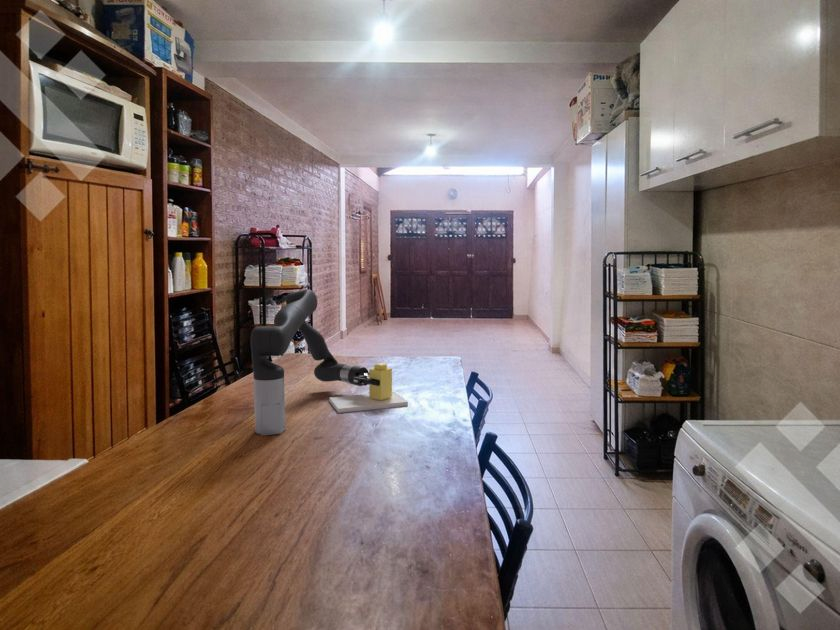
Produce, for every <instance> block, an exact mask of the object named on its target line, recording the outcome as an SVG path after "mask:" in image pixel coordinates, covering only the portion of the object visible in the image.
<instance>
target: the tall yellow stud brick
mask: <svg viewBox="0 0 840 630" xmlns="http://www.w3.org/2000/svg"><path fill="white" fill-rule="evenodd" d="M368 372H369V378H372V379H377V380H380V386H376V385H368V387H369V389H368V391H369V392H368V394H369V398H373V399H377V400H384V399H387V398H391V397H392V392H393V368H390V367H388V364H387V363H381V362H380V363H374V364H373V367H372V368H371V367H370V368H369V370H368Z"/></svg>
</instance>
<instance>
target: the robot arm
mask: <svg viewBox="0 0 840 630" xmlns="http://www.w3.org/2000/svg"><path fill="white" fill-rule="evenodd" d="M285 304H286V305H284V306H282V307H281V308H280V309H279V311H277V313H276V314H275V316H274V318H273V325H274V326H273V325H271V326H270V325H269V326H268V325H267V326H265V325H263V326H260V325H259V326H255V327H253V328H252V330H251V334H250V349H251V350H250V353H251V364H252V366H251V367H252V373H253V374H252V375H253V397H254V398H253V401H254V431H255V432H254V433H256V434H257V435H260V436H262V437H263V436H270V435H271V436H272V435H281V434H283V432H285V431H286V429H287V428H286V401H285V400H286V397H285V369H284V367H283V366H282V365H279V364H276V363H274V362H272V361H270V360H269V359H268V358H267V357H280V356H284V354H286V352H287V351H288V349H289V347H290V345H291V342H292V340H293V338H294V336H295V335H296V333H297V332H298V331H299V332H300V333H301V335H302V336H303V338H304V340H305V342H306V344H307V347H308V349H309V353H310V355H311V357H312V359H313V360H314V361H321V362H320V363H319V364H317V365H316V366H315V368H314V370H313V375H314V376H315V378H316V379H317V380H318V381H320V382H324V383H325V382H326V383H327V382H328V383H329V382H336V381H338V382H343V383H346V384H347V385H354V386H358V387H363V386H365V387H366V386H369V385H376V386H380V380H377V379H372V378H369V370H368V369H367V368H366V367H364V366H360V365H354V364H347V363H341V362H340V363H339V362H338V360H337V359H336V357H334V356H333V354H332V352H331V351H330V350H329V349H328V345H327V343H326V340H325V338H324V336H323V335H322V333H320V332H319V331H318V330H317V329H316V328H315V327H313V326H312V325H310V323H309V322H308V321H306V320H307V319H308V317H310V315H312V314H313V313H315V311H316V310H317V307H318V297H317V295H316V293H315V292H314V291H313V290H312V289H307V288H305V289H302V290H301V289H300V290H298V291H294V292H289V293H288V294H286V296H285ZM322 360H323V361H322Z"/></svg>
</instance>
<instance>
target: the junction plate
mask: <svg viewBox="0 0 840 630" xmlns="http://www.w3.org/2000/svg"><path fill="white" fill-rule="evenodd" d="M328 400H329V403H330V405H332V407H333V408H334V409H335V411H336V412H337V414H340V413H350V412H359V411H368V410H377V409H379V410H380V409H388V408H397V407H398V408H399V407H407V406H409V405H408V404H409V403H408V400H406V399H405V398H403V396H401V395H400V394H398V393H397V392H396V391H392V397H391V398H387V399H384V400H377V399H373V398H369V393H364V394H354V395H342V396H331V397H329V399H328Z"/></svg>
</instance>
